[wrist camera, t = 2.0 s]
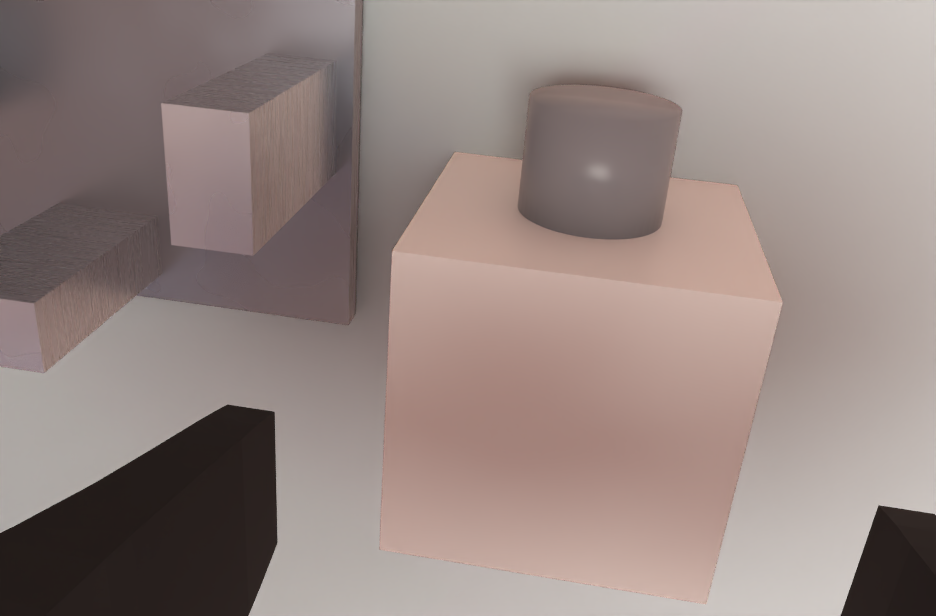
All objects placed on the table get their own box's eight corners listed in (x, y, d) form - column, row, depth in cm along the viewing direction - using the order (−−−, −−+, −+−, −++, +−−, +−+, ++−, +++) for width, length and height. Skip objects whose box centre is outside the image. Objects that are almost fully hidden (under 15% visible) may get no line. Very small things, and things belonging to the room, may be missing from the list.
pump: (685, 424, 18) (706, 603, 13) (438, 388, 18) (379, 549, 14) (758, 85, 15) (815, 170, 10) (462, 54, 15) (397, 122, 11)
